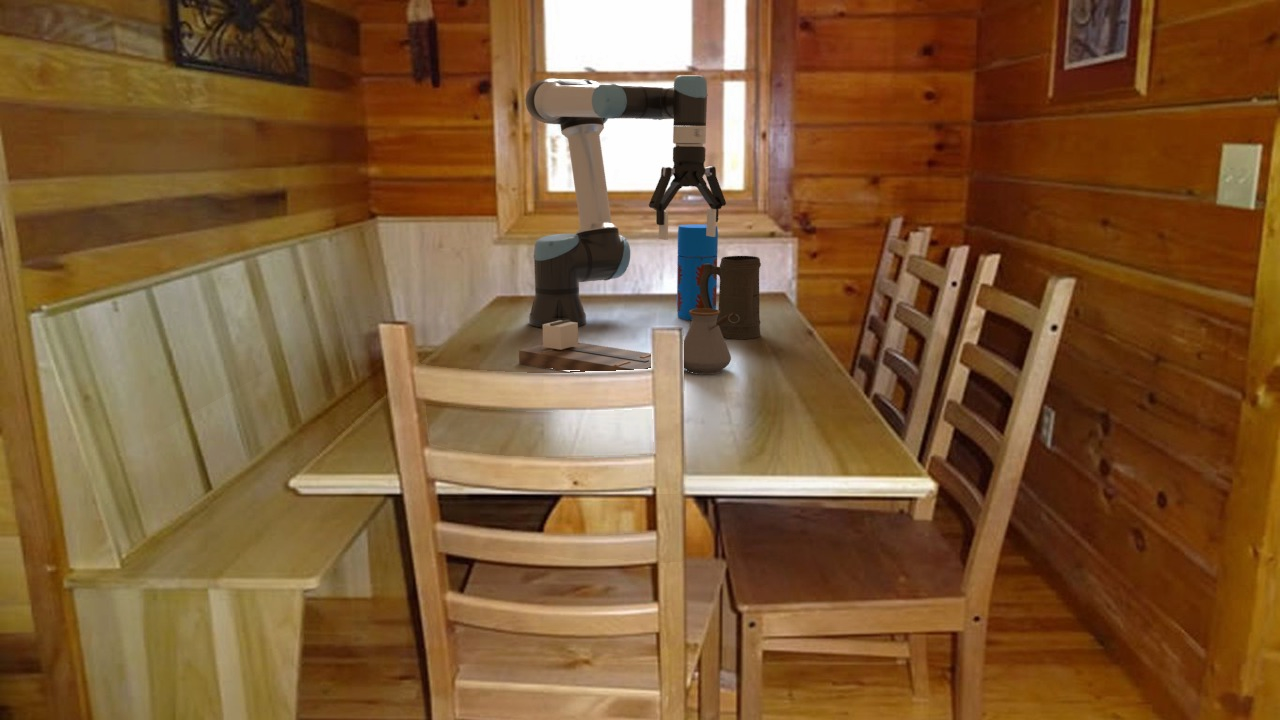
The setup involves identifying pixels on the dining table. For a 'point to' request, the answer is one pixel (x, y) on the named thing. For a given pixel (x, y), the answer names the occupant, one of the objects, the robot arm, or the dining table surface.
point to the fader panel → (585, 358)
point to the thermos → (694, 268)
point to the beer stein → (736, 295)
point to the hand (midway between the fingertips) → (687, 237)
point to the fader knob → (560, 334)
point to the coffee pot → (706, 342)
